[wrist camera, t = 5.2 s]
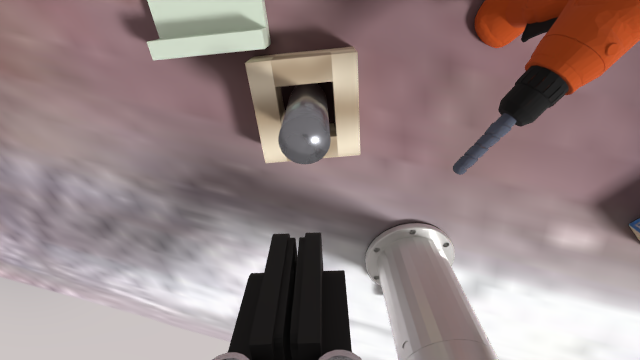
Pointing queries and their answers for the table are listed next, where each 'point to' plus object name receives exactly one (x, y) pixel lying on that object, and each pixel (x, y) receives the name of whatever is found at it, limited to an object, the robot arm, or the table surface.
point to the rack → (207, 27)
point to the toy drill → (552, 53)
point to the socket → (306, 69)
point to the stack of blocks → (636, 227)
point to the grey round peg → (305, 125)
